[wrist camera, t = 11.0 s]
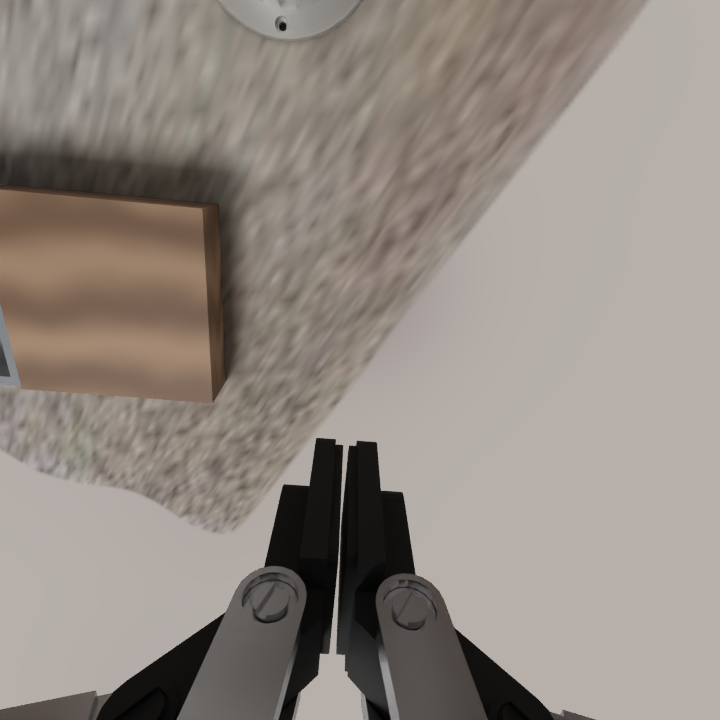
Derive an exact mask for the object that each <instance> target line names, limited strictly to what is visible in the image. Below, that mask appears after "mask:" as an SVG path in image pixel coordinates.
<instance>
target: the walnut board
mask: <svg viewBox="0 0 720 720" xmlns="http://www.w3.org/2000/svg"><path fill="white" fill-rule="evenodd" d="M0 305H1V309H2V313H3V317H4V321H5V324H6V328H7V332H8V336H9V340H10V344H11V348H12V352H13V356H14V360H15V364H16V368H17V372H18V376H19V380H20V384H21V388H22V389H29V390H42V391H56V392H70V393H83V394H97V395H110V396H124V397H138V398H151V399H165V400H178V401H192V402H206V403H213V402H214V400H215V398H216V397H217V395H218V393H219V392H220V390H221V389H222V387H223V385H224V384H225V360H224V334H223V308H222V282H221V256H220V230H219V205H217V204H207V203H196V202H186V201H175V200H165V199H154V198H144V197H133V196H123V195H112V194H102V193H91V192H81V191H71V190H60V189H50V188H39V187H29V186H18V185H0Z"/></svg>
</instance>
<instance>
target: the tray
mask: <svg viewBox="0 0 720 720" xmlns="http://www.w3.org/2000/svg"><path fill="white" fill-rule="evenodd" d="M0 185H8V184H0ZM0 384H2V385H15V386H21V384H20V380H19V376H18V372H17V368H16V364H15V360H14V356H13V352H12V348H11V344H10V340H9V336H8V332H7V328H6V324H5V321H4V317H3V313H2V309H1V305H0Z"/></svg>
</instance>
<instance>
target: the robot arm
mask: <svg viewBox="0 0 720 720" xmlns="http://www.w3.org/2000/svg"><path fill="white" fill-rule="evenodd" d="M217 1H218V2H219V4H220V5H221V6H222V7H223V8H224V9H225V10H226V11H227V12H228V13H229V14H230V15H231V16H232V17H233V18H234V19H235V20H236V21H237V22H238V23H240V24H241V25H243V26H244V27H246V28H247V29H249V30H250V31H252V32H253V33H256V34H258V35H261V36H263V37H266V38H268V39H271V40H277V41H282V42H303V41H308V40H311V39H314V38H318V37H321V36H323V35H325V34H327V33H328V32H330V31H332V30H334V29H335V28H337V27H338V26H339V25H340V24H342V23H343V22H344V21H345V20H346V19H347V18H348V17H349V16H351V14H352V13H353V12H354V10H355V9H356V8H357V6H358V5H359V4H360V2H361V1H362V0H217ZM281 24H286V25H287V28H286V30H285V31H281V30H280V25H281ZM335 443H336V440H335V439H323V438H317V439H316V444H315V451H314V458H313V465H312V472H311V479H310V486H299V485H283V488H282V492H281V496H280V500H279V505H278V509H277V513H276V518H275V522H274V527H273V531H272V535H271V540H270V544H269V549H268V553H267V557H266V562H265V566H264V568H260V569H258V570H256V571H254V572H252V573H250V574H249V575H248V576H247V577H246V578H245V579H244V580H242V581H241V583H240V584H239V586H238V588H237V589H236V591H235V593H234V595H233V598H232V600H231V602H230V604H229V607H228V609H227V611H226V612H225V613H224V614H223V615H221V616H220V617H218V618H217V619H215V620H214V621H212V622H211V623H209V624H208V625H207V626H205V627H204V628H202V629H201V630H199V631H198V632H197V633H195V634H194V635H192V636H191V637H189V638H188V639H186V640H185V641H184V642H182V643H181V644H179V645H178V646H176V647H175V648H173V649H172V650H171V651H169V652H168V653H166V654H165V655H163V656H162V657H160V658H159V659H158V660H156V661H155V662H153V663H152V664H150V665H149V666H148V667H146V668H145V669H143V670H142V671H140V672H139V673H137V674H136V675H134V676H133V677H132V678H130V679H129V680H127V681H126V682H125V683H124V684H122V685H121V686H120V687H119V688H118V689H117V690H115V691H114V692H113V693H111V694H106V695H101V696H97V693H96V691H92V692H86V693H81V694H76V695H71V696H66V697H61V698H56V699H52V700H47V701H41V702H36V703H31V704H26V705H21V706H17V707H11V708H7V709H2V710H0V720H295V718H296V714H297V709H298V705H299V701H300V692H301V690H302V689H304V688H305V686H307V685H308V684H309V683H310V682H311V681H312V680H313V679H314V678H315V677H316V676H317V675H318V669H319V657H320V653H321V654H329V648H330V638H331V628H332V617H333V608H334V597H335V587H336V577H337V566H338V552H339V530H340V507H341V506H340V505H341V482H342V458H343V445H335ZM337 624H338V626H337V654H341V655H345V671H348V677H349V678H350V679H351V680H352V682H354V683H355V685H356V686H357V687H358V688H359V689H360V691H361V705H362V711H363V718H364V720H595V719H591V718H588V717H585V716H582V715H578V714H575V713H572V712H568V711H565V710H563V711H562V712H561V714H560V715H559V714H555V713H552V712H549V710H547V708H546V707H545V706H544V705H543V704H542V703H541V702H540V701H539V700H538V699H537V698H536V697H535V696H533V695H532V694H531V693H530V692H529V691H528V690H527V689H525V688H524V687H523V686H522V685H521V684H520V683H518V682H517V681H516V680H515V679H514V678H513V677H511V676H510V675H509V674H508V673H507V672H505V671H504V670H503V669H502V668H501V667H499V666H498V665H497V664H496V663H495V662H494V661H493V660H491V659H490V658H489V657H488V656H487V655H486V654H484V653H483V652H482V651H481V650H480V649H479V648H477V647H476V646H475V645H474V644H473V643H472V642H470V641H469V640H468V639H467V638H466V637H464V636H463V635H462V634H461V633H460V632H459V631H458V630H456V629H455V628H454V626H453V624H452V621H451V619H450V615H449V613H448V610H447V607H446V604H445V602H444V600H443V598H442V596H441V594H440V592H439V591H438V590H437V589H436V587H434V585H433V584H432V583H430V582H429V581H427V580H426V579H424V578H422V577H420V576H417V575H415V568H414V562H413V555H412V549H411V543H410V535H409V529H408V522H407V515H406V509H405V502H404V497H403V493H402V492H392V491H381V489H380V477H379V465H378V452H377V443H376V442H365V441H357V444H356V446H349V451H348V461H347V472H346V482H345V492H344V502H343V512H342V523H341V544H340V570H339V597H338V623H337Z"/></svg>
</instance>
